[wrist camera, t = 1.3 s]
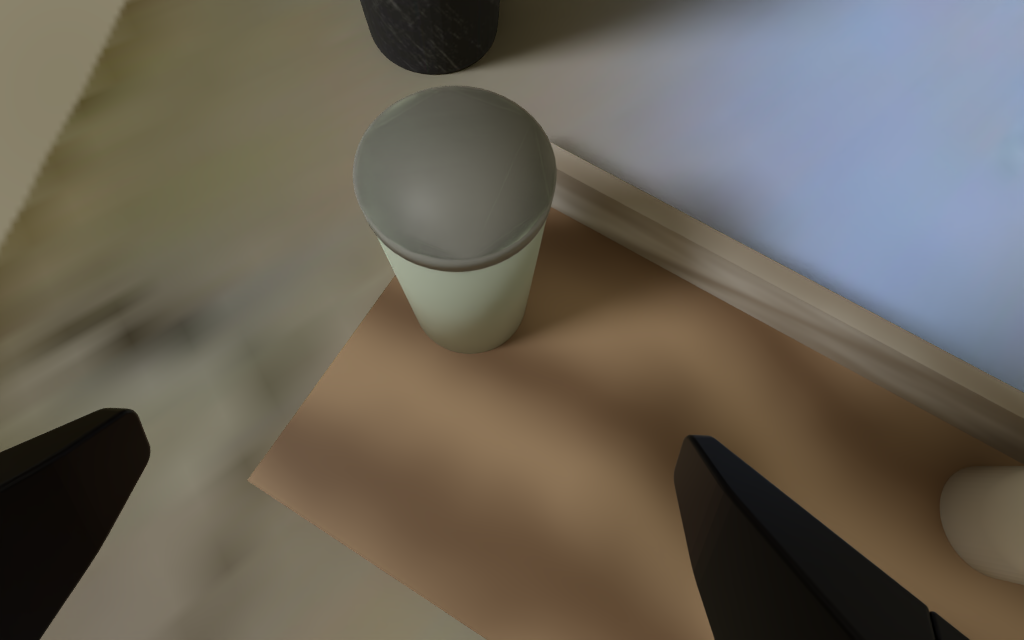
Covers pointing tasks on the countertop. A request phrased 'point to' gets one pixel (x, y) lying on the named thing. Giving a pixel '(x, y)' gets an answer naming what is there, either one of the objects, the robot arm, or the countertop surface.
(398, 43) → the travel mug
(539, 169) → the tea tin
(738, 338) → the shelf board
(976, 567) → the salt jar
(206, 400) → the countertop surface
